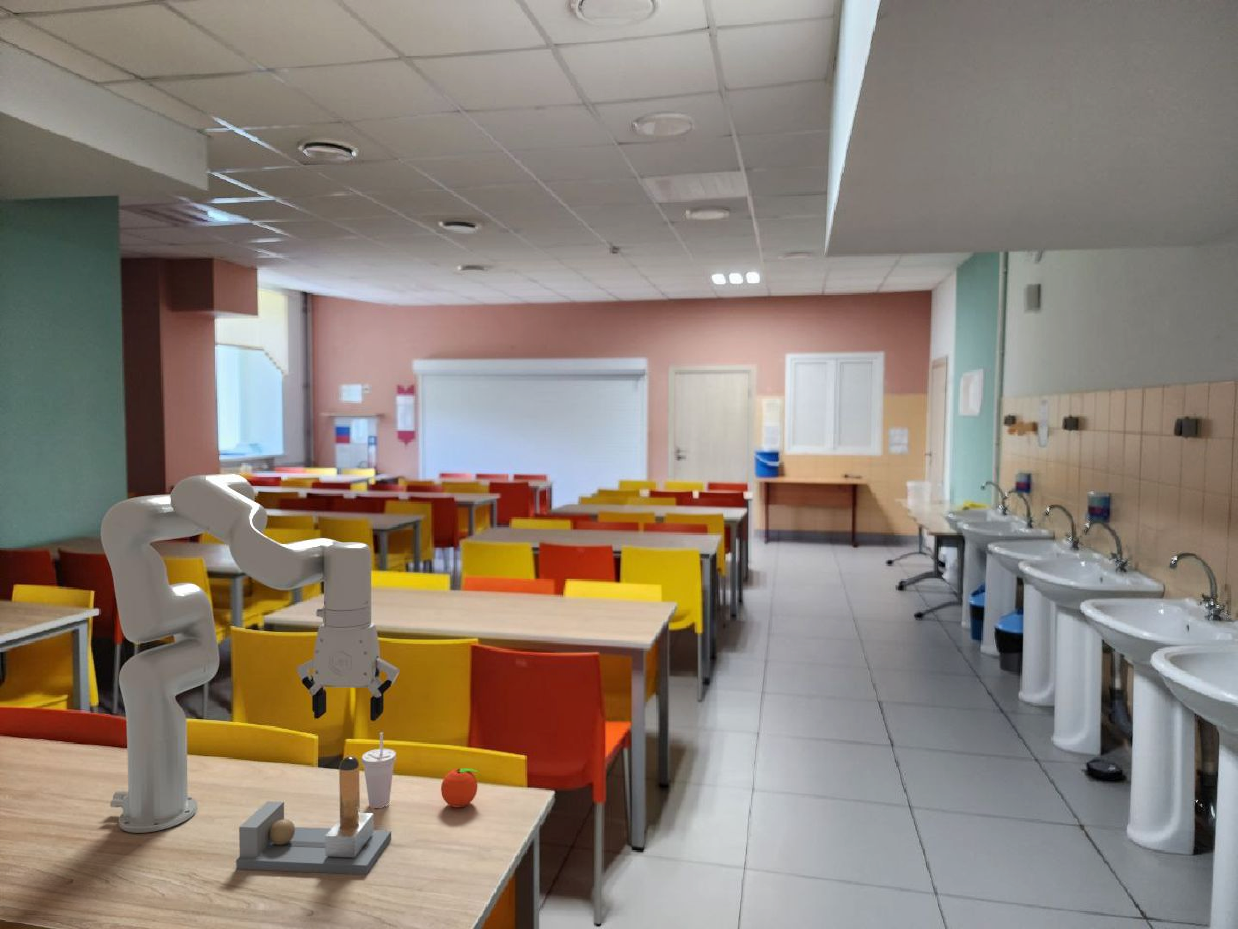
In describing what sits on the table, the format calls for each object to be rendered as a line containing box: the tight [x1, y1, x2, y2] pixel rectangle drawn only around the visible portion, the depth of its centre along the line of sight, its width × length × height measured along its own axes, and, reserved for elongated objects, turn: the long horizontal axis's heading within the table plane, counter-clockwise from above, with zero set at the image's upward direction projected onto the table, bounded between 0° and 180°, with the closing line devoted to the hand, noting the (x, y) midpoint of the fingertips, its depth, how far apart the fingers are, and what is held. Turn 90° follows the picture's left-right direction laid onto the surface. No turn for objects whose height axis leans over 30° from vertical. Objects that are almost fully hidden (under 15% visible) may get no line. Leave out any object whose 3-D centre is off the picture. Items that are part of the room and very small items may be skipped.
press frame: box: [235, 800, 392, 875], centre depth 132 cm, size 22×11×6 cm, turn 86°
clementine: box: [440, 767, 481, 808], centre depth 150 cm, size 8×7×7 cm
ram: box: [325, 755, 374, 857], centre depth 131 cm, size 5×8×15 cm, turn 176°
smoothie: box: [361, 732, 397, 809], centre depth 150 cm, size 6×6×14 cm
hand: (348, 717), depth 131 cm, fingers open, 9 cm apart
